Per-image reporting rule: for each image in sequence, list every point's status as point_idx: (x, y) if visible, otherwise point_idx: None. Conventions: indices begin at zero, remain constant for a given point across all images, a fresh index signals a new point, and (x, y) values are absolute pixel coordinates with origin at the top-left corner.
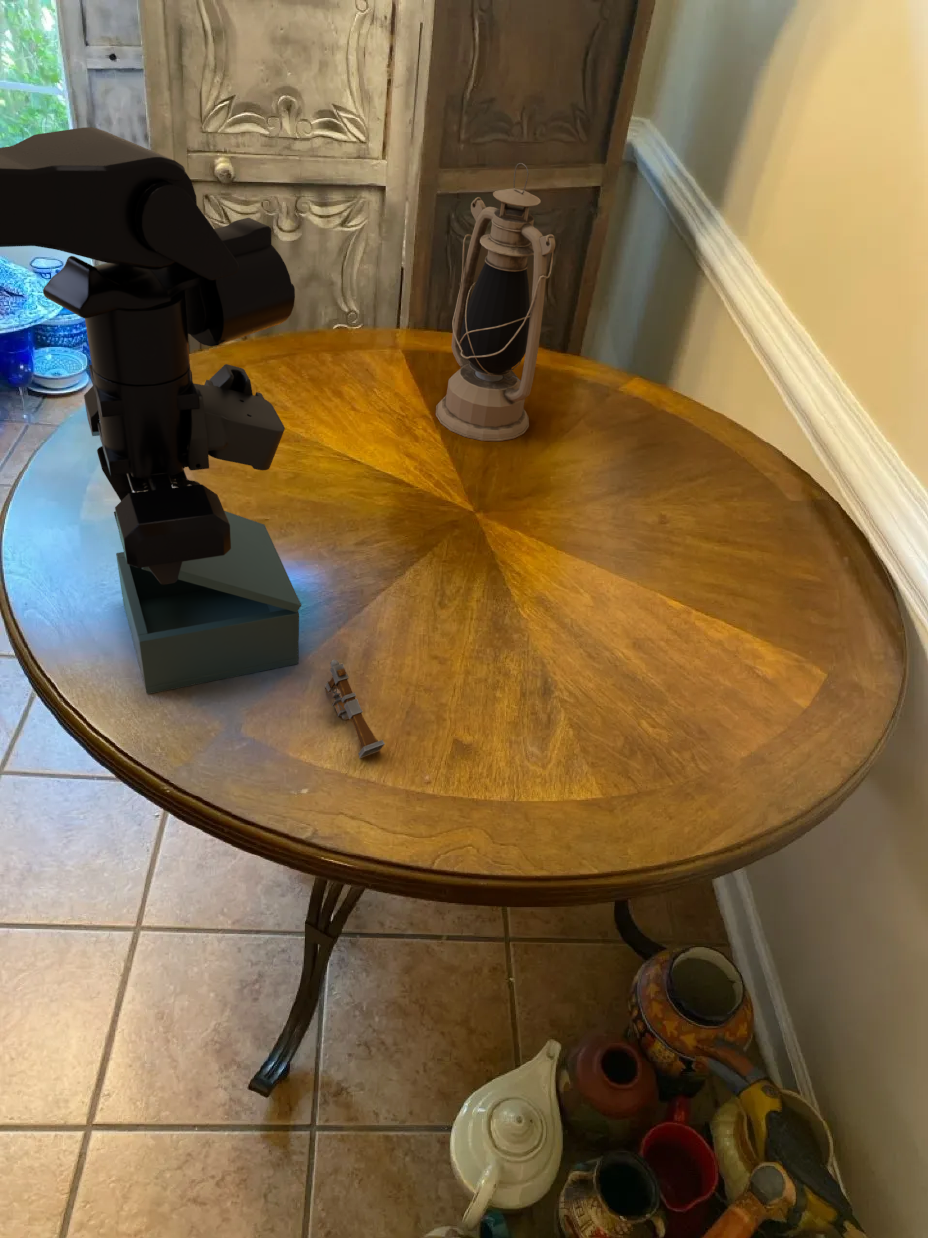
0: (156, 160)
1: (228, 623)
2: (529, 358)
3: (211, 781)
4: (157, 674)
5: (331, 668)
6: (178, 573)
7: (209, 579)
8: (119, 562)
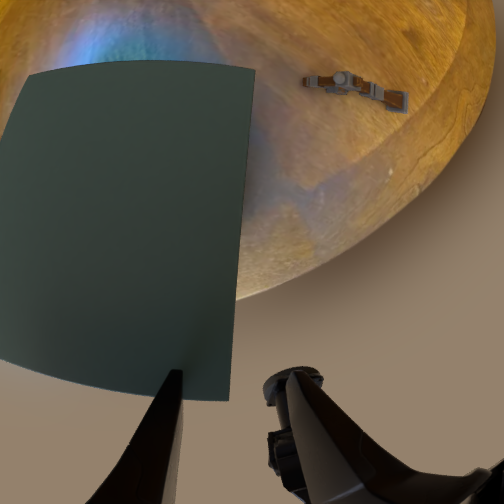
0: None
1: None
2: None
3: (342, 235)
4: None
5: (342, 85)
6: (320, 388)
7: (236, 266)
8: None
